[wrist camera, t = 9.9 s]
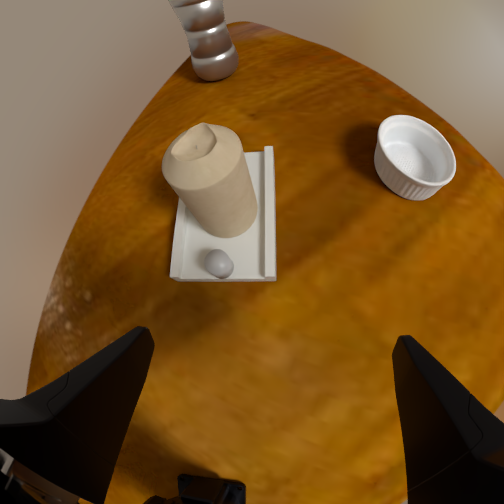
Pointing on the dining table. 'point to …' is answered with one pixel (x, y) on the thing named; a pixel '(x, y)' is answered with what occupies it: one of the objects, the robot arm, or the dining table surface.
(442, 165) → the ramekin
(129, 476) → the dining table surface
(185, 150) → the candle
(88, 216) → the dining table surface
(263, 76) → the dining table surface
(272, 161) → the tray
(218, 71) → the plastic bottle
